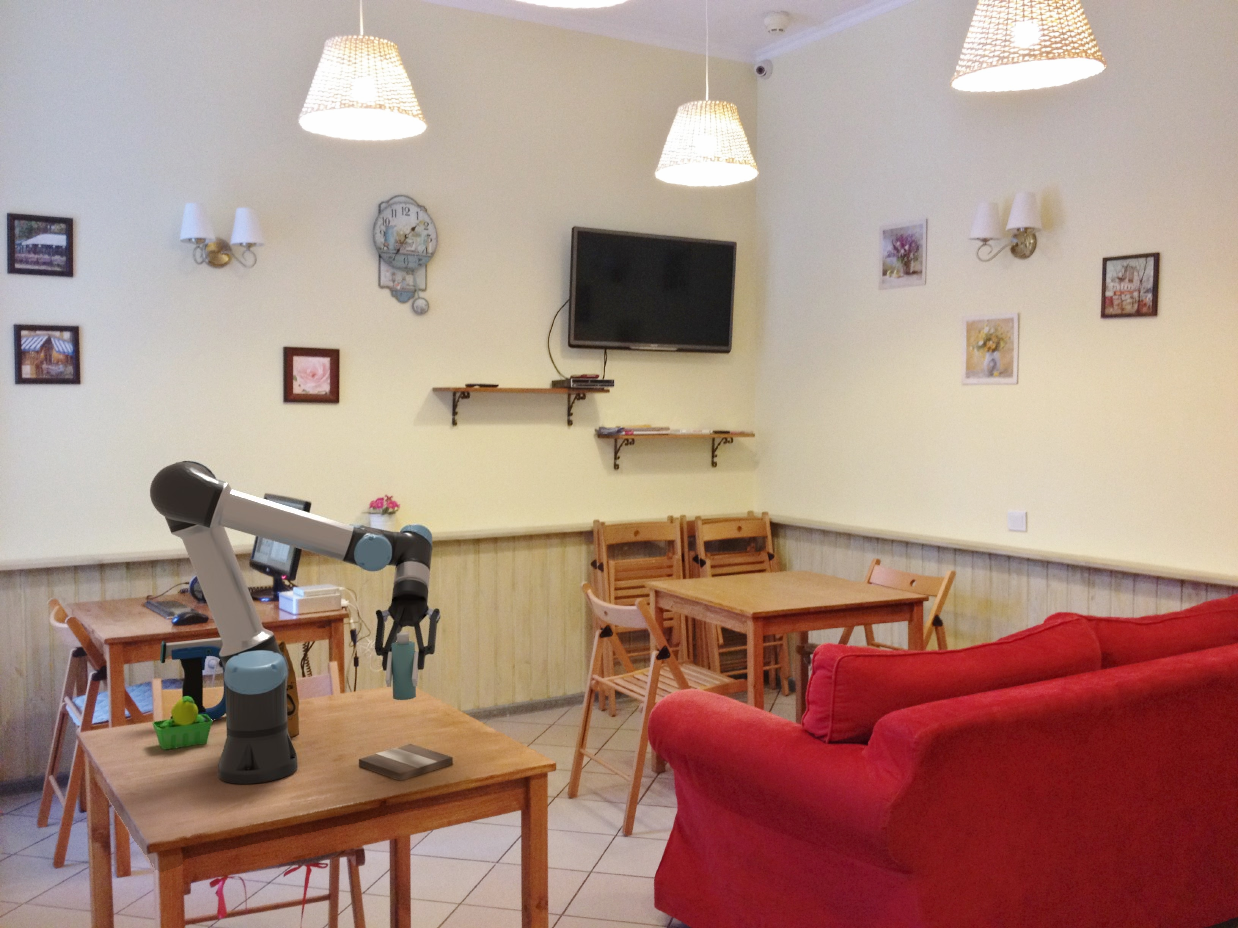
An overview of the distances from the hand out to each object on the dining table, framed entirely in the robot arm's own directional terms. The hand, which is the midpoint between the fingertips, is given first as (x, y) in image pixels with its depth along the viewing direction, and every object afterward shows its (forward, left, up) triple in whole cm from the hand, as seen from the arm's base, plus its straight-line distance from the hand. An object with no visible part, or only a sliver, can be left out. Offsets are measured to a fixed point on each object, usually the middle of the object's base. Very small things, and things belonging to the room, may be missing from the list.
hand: (401, 682), depth 212 cm
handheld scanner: (-9, +68, -18) cm, 71 cm away
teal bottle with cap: (+3, +3, -4) cm, 5 cm away
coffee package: (-4, +44, -18) cm, 47 cm away
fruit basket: (-20, +53, -18) cm, 59 cm away
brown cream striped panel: (+3, +3, -18) cm, 18 cm away
